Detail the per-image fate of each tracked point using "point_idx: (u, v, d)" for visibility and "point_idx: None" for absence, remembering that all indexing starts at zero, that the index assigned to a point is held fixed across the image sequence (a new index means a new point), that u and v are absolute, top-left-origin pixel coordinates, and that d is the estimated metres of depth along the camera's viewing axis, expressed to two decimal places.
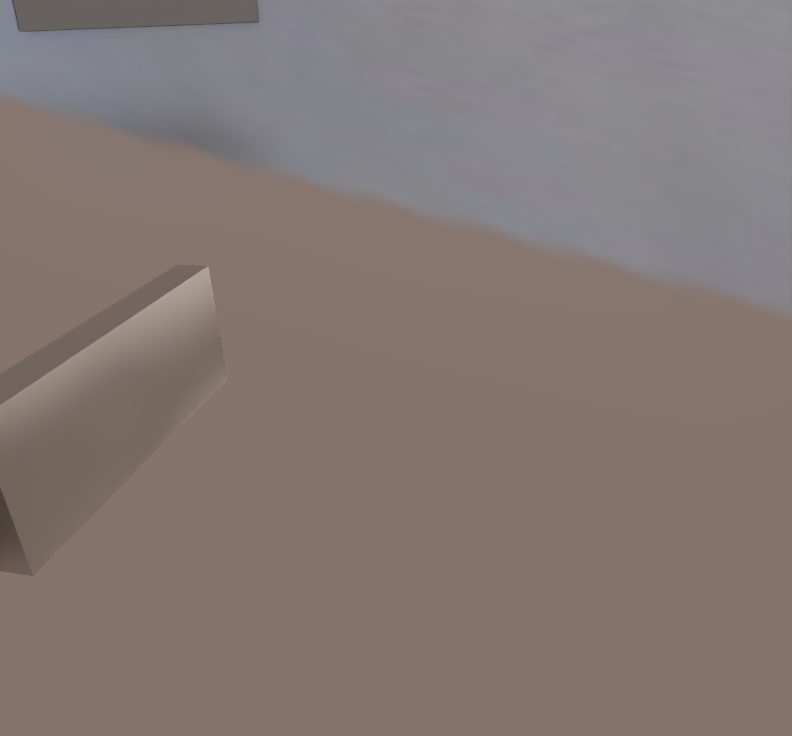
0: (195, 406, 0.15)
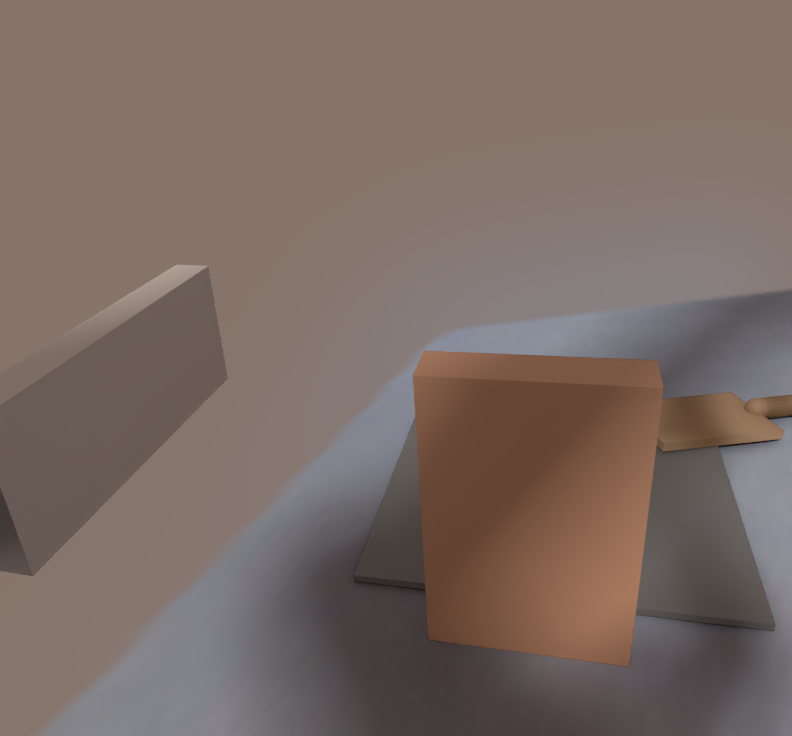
0: (195, 406, 0.15)
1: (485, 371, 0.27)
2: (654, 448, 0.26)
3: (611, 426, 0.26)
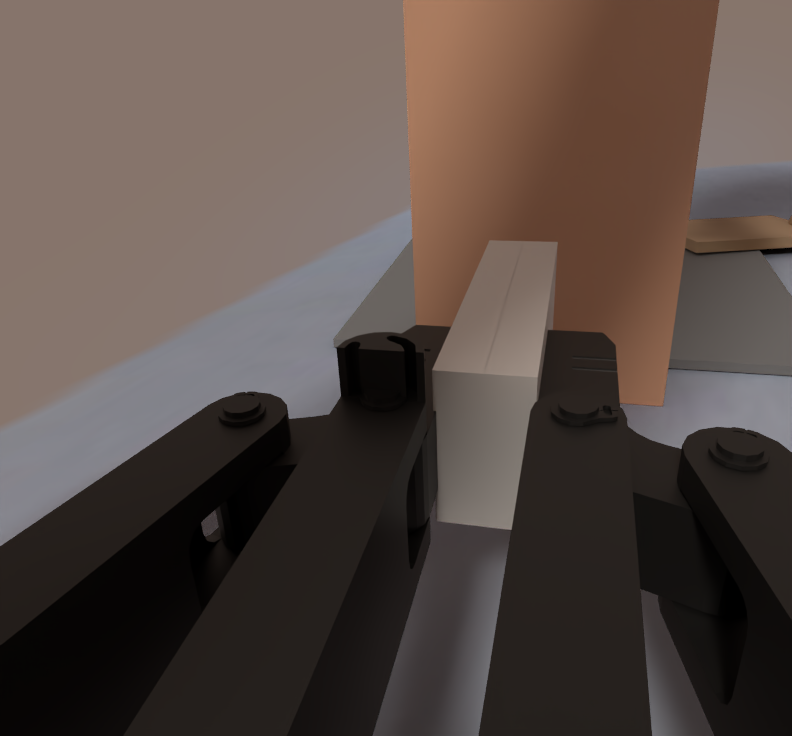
0: None
1: None
2: (708, 58, 0.20)
3: (654, 28, 0.20)
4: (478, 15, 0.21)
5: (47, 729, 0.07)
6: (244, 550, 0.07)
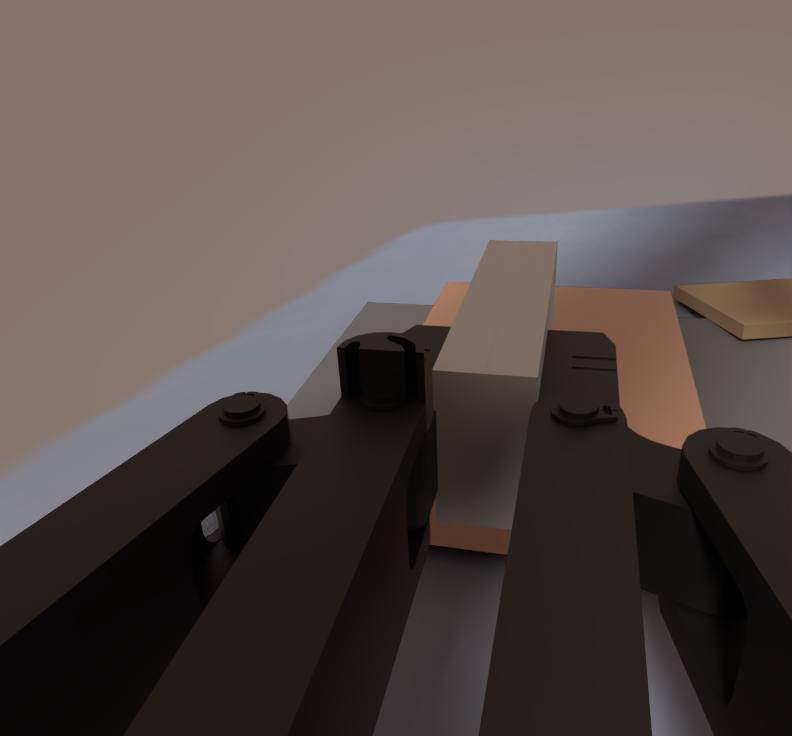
0: None
1: None
2: (675, 314, 0.26)
3: (629, 304, 0.27)
4: None
5: (47, 729, 0.07)
6: (244, 550, 0.07)
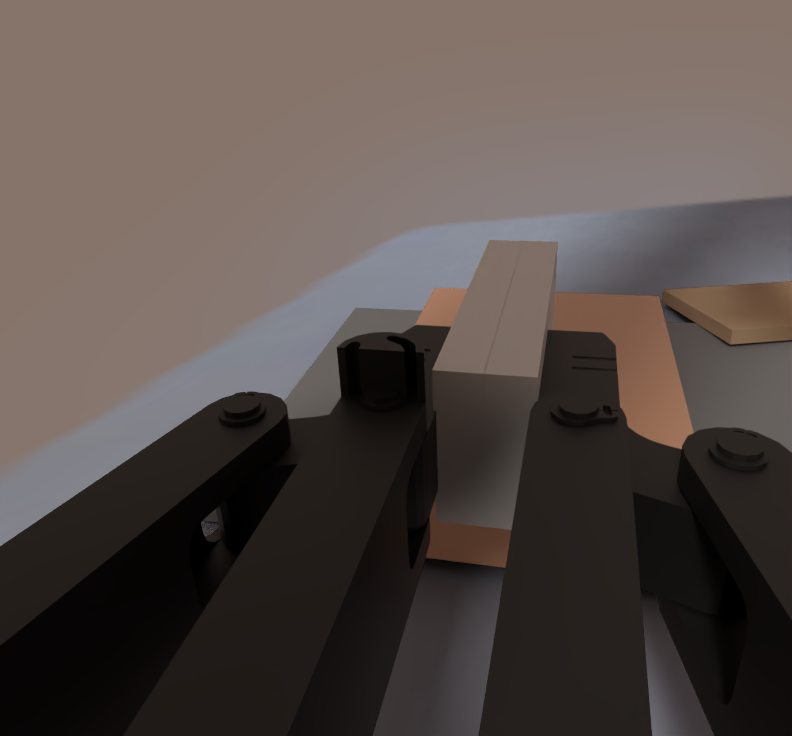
0: None
1: None
2: (663, 320, 0.26)
3: (617, 310, 0.27)
4: None
5: (47, 729, 0.07)
6: (244, 550, 0.07)
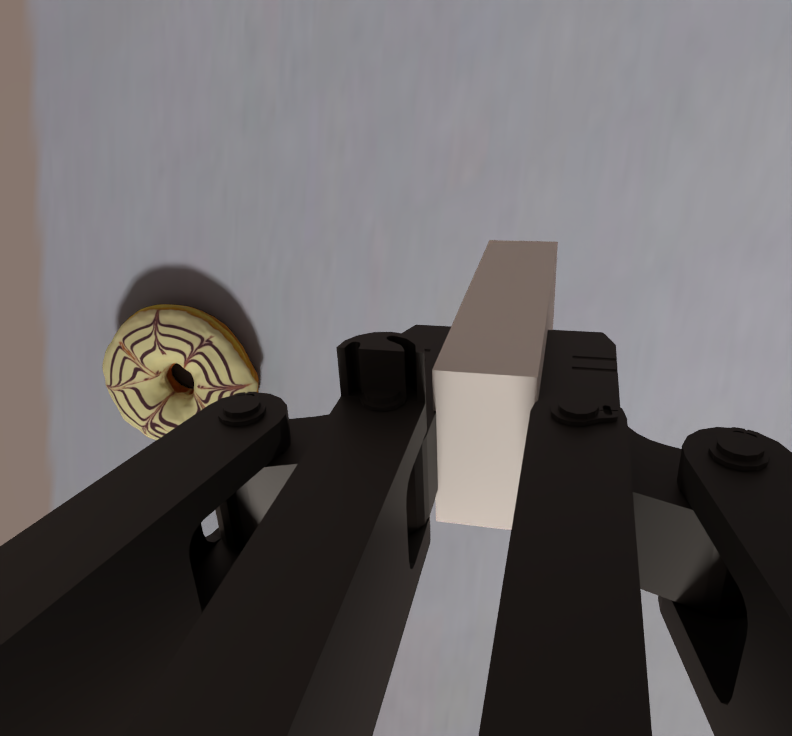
0: None
1: None
2: None
3: None
4: None
5: (47, 729, 0.07)
6: (244, 550, 0.07)
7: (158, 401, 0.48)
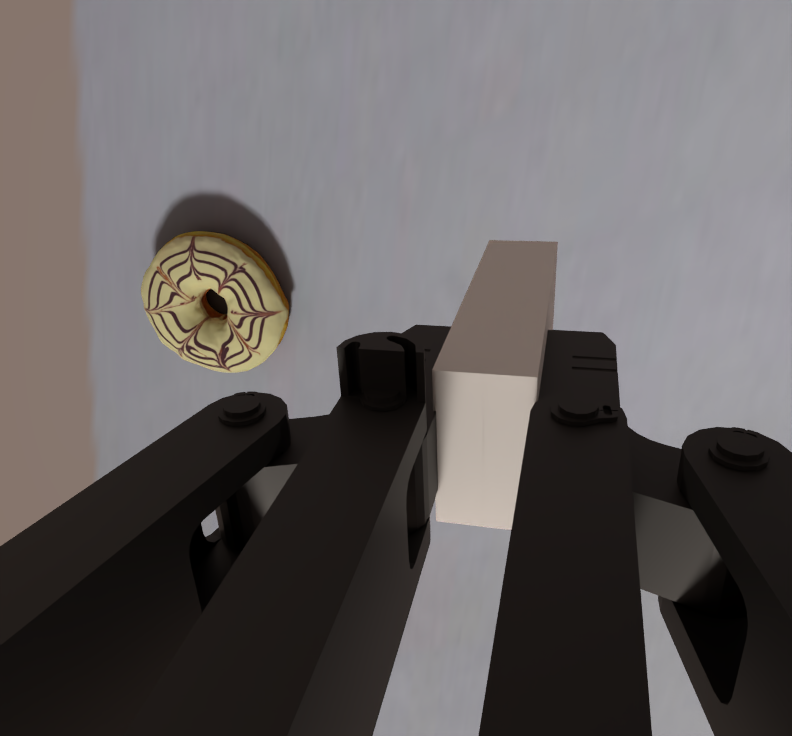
0: None
1: None
2: None
3: None
4: None
5: (47, 729, 0.07)
6: (244, 550, 0.07)
7: (193, 325, 0.51)
